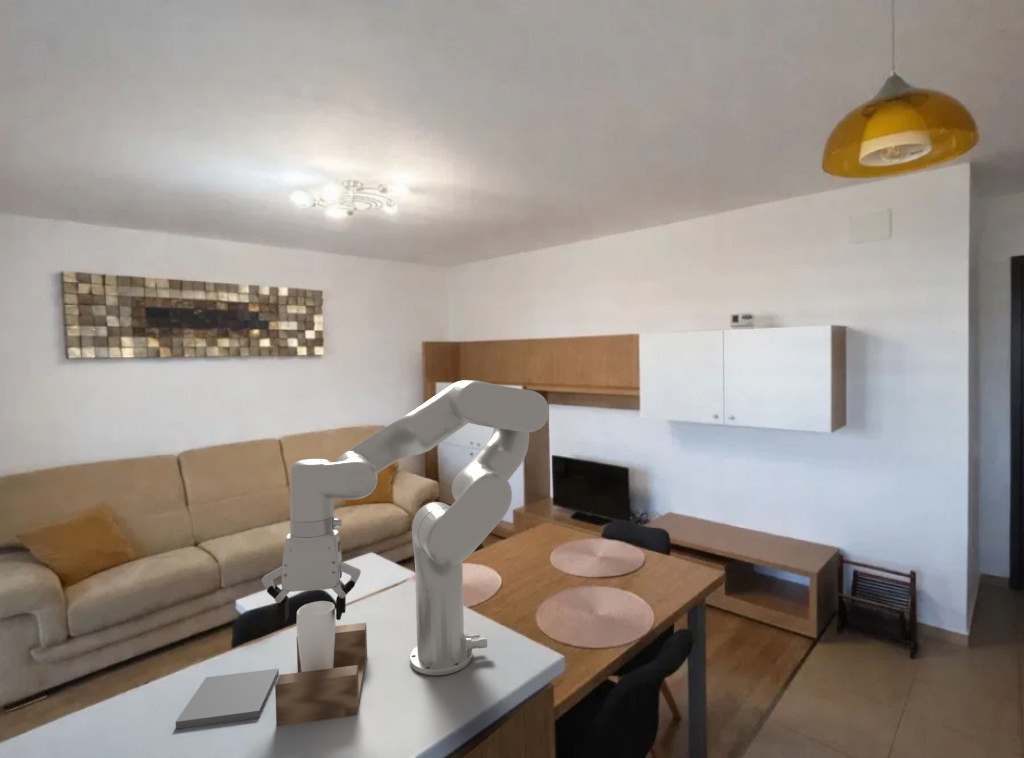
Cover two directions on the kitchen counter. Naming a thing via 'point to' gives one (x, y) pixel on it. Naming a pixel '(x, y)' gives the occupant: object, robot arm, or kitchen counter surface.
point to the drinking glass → (316, 635)
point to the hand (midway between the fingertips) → (312, 618)
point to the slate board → (229, 698)
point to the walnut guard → (325, 682)
